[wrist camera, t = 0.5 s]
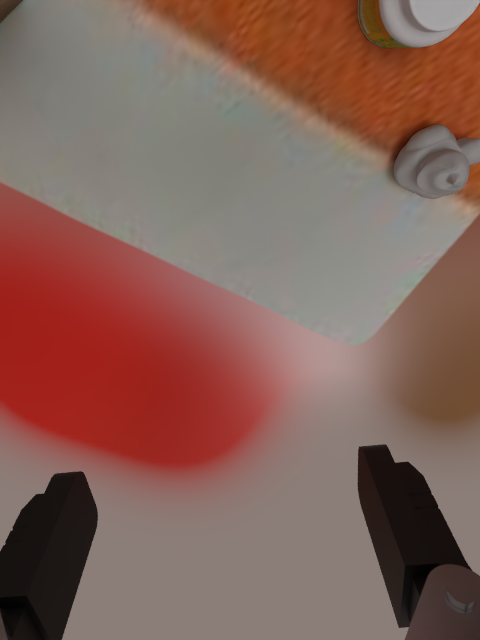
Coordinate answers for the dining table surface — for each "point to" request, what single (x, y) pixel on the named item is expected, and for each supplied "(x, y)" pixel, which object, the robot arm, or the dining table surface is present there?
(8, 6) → the stand
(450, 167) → the grey rounded piece
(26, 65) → the dining table surface
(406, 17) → the supplement bottle
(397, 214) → the dining table surface
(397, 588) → the robot arm
